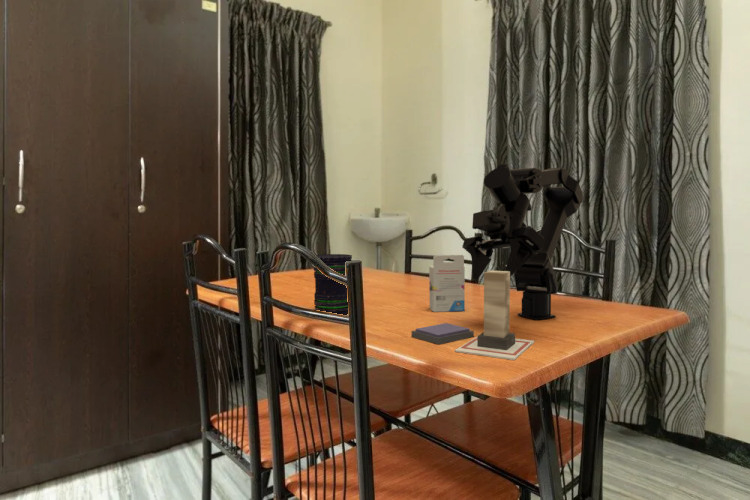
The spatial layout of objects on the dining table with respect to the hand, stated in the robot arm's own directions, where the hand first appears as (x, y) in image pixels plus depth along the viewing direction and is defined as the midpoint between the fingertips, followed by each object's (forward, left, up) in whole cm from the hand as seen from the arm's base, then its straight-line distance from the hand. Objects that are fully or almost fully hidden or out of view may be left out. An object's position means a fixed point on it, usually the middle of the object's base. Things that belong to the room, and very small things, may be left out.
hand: (490, 278), depth 106 cm
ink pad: (+10, -3, -12) cm, 16 cm away
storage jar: (+21, -36, -12) cm, 43 cm away
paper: (+6, +9, -12) cm, 16 cm away
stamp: (+5, +8, -12) cm, 15 cm away
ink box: (-7, -26, -12) cm, 30 cm away
